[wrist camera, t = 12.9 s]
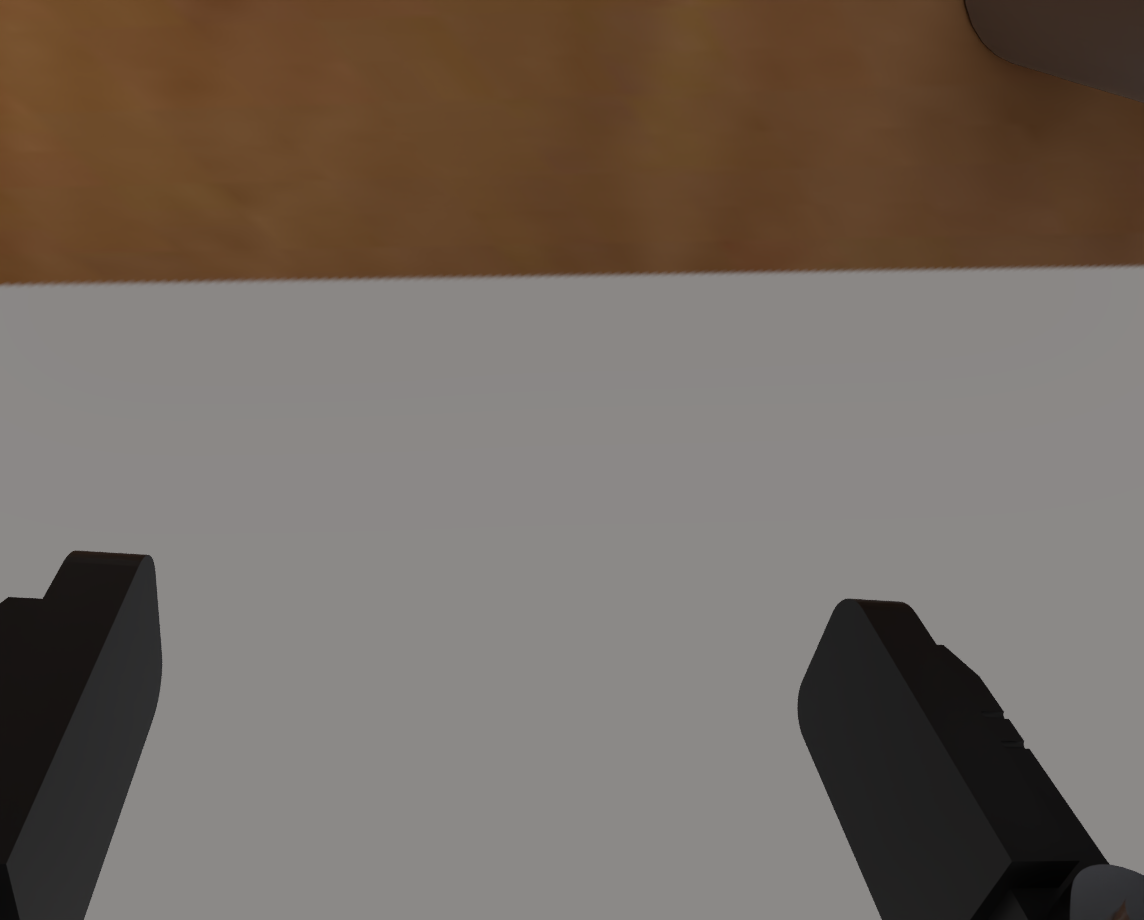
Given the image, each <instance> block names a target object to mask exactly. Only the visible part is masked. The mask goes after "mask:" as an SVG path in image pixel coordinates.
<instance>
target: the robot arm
mask: <svg viewBox="0 0 1144 920" xmlns="http://www.w3.org/2000/svg"><path fill="white" fill-rule="evenodd" d="M965 2H966V7H967V10H968V13H969V17H970V20H971V23H972V26H973V28H974V29H975V31H976V32H977V34H978V36H979V37H980V39H981V41H982V42H983V43H984V44H985V45H986V46H987V47H988V48H989V49H990V50H991V51H992V52H993V53H994V54H995V55H997V56H999V57H1001V58H1003V59H1005V60H1007V61H1009V62H1011V63H1013V64H1016V65H1020V66H1023V67H1026V68H1030V69H1033V70H1036V71H1040V72H1043V73H1046V74H1050V75H1053V76H1057V77H1060V78H1062V79H1065V80H1069V81H1072V82H1075V83H1079V84H1082V85H1086V86H1089V87H1092V88H1096V89H1099V90H1102V91H1106V92H1109V93H1113V94H1116V95H1119V96H1123V97H1126V98H1130V99H1133V100H1136V101H1140V102H1143V103H1144V0H965ZM161 676H162V650H161V637H160V624H159V612H158V600H157V587H156V574H155V566H154V562H153V559H152V557H151V556H150V555H139V554H123V553H106V552H89V551H73V552H71V553H70V554H69V555H68V556H67V557H66V559H65V560H64V562H63V564H62V565H61V567H60V569H59V571H58V573H57V574H56V576H55V578H54V580H53V581H52V583H51V585H50V587H49V589H48V590H47V592H46V594H45V596H44V597H43V599H36V598H16V597H8V598H7V599H5V600H4V601H3V602H1V603H0V920H84V917H85V914H86V911H87V909H88V906H89V903H90V900H91V897H92V894H93V891H94V888H95V886H96V882H97V880H98V877H99V874H100V871H101V868H102V865H103V862H104V859H105V857H106V854H107V851H108V848H109V845H110V842H111V839H112V836H113V833H114V830H115V828H116V825H117V822H118V819H119V816H120V813H121V810H122V807H123V804H124V802H125V798H126V796H127V793H128V789H129V787H130V784H131V781H132V778H133V775H134V773H135V769H136V767H137V764H138V761H139V758H140V755H141V752H142V749H143V746H144V743H145V741H146V738H147V735H148V732H149V729H150V726H151V723H152V720H153V717H154V714H155V711H156V707H157V702H158V697H159V692H160V685H161ZM1003 713H1004V711H1003V710H1002V709H1001V707H1000V706H999V704H998V703H997V701H996V700H995V698H994V697H993V696H992V694H991V693H990V691H989V690H988V688H987V687H986V685H985V684H984V682H983V681H982V680H981V678H980V677H979V676H978V675H977V674H976V673H975V672H974V671H973V670H971V669H970V668H969V667H968V666H967V665H966V664H965V663H963V662H962V661H961V660H960V659H959V658H958V657H956V656H955V655H954V654H953V653H952V652H951V651H950V650H949V649H947V648H946V647H945V646H944V645H936V643H935V642H934V640H933V639H932V637H931V636H930V634H929V632H928V631H927V629H926V628H925V627H924V625H923V623H922V622H921V620H920V619H919V617H918V616H917V614H916V613H915V612H914V610H913V609H912V608H911V607H910V606H909V605H907V604H905V603H903V602H895V601H877V600H862V599H845V600H843V601H841V602H840V603H839V604H838V605H837V606H836V607H835V609H834V611H833V613H832V615H831V617H830V620H829V622H828V624H827V626H826V629H825V631H824V633H823V635H822V638H821V640H820V642H819V645H818V647H817V649H816V651H815V654H814V656H813V658H812V660H811V663H810V665H809V667H808V669H807V672H806V674H805V677H804V679H803V681H802V683H801V686H800V690H799V696H798V719H799V725H800V729H801V733H802V735H803V738H804V740H805V743H806V745H807V747H808V749H809V752H810V754H811V756H812V759H813V761H814V763H815V766H816V768H817V770H818V773H819V775H820V777H821V780H822V782H823V784H824V787H825V789H826V791H827V794H828V796H829V798H830V801H831V803H832V805H833V807H834V810H835V812H836V814H837V817H838V819H839V821H840V824H841V826H842V828H843V830H844V833H845V835H846V838H847V840H848V842H849V844H850V847H851V849H852V851H853V854H854V856H855V858H856V861H857V863H858V865H859V868H860V870H861V872H862V875H863V877H864V879H865V881H866V884H867V886H868V888H869V891H870V893H871V895H872V898H873V900H874V902H875V905H876V907H877V909H878V911H879V914H880V916H881V918H882V920H1144V875H1142V874H1139V873H1137V872H1135V871H1132V870H1129V869H1126V868H1123V867H1119V866H1114V865H1110V864H1109V863H1108V862H1107V860H1106V859H1105V858H1104V856H1103V855H1102V853H1101V852H1100V850H1099V849H1098V847H1097V846H1096V845H1095V843H1094V842H1093V840H1092V839H1091V837H1090V836H1089V835H1088V833H1087V831H1086V830H1085V829H1084V827H1083V826H1082V824H1081V823H1080V821H1079V820H1078V819H1077V817H1076V816H1075V814H1074V813H1073V811H1072V810H1071V808H1070V807H1069V805H1068V804H1067V803H1066V801H1065V800H1064V798H1063V797H1062V795H1061V794H1060V792H1059V791H1058V790H1057V788H1056V787H1055V785H1054V784H1053V782H1052V781H1051V779H1050V778H1049V777H1048V775H1047V774H1046V772H1045V771H1044V770H1043V768H1042V767H1041V765H1040V764H1039V762H1038V761H1037V759H1036V758H1035V757H1034V755H1033V753H1032V752H1031V751H1030V749H1025V748H1024V740H1023V739H1022V737H1021V736H1020V735H1019V733H1018V732H1017V730H1016V729H1015V727H1014V726H1013V724H1012V723H1011V721H1010V720H1009V719H1004V716H1003Z"/></svg>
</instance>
